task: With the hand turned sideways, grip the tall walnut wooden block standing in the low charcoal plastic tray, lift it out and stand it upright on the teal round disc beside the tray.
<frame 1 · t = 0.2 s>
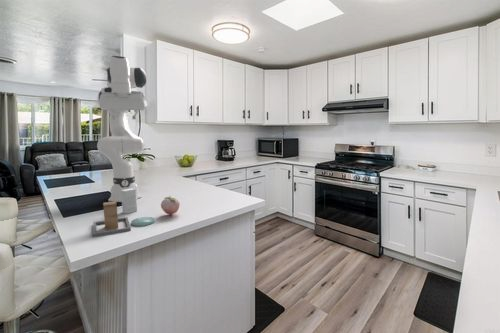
hand: (123, 119, 131), 48 cm above the table, tool pointing down, fingers open, 8 cm apart
teal round disc: (143, 222, 123), on the table
decorative fruit: (171, 215, 134), on the table
skincare box: (129, 212, 139), on the table
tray: (111, 227, 116), on the table
walnut block: (110, 215, 116), in the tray
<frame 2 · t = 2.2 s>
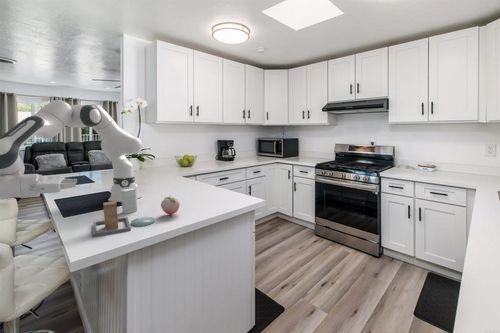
hand: (76, 182, 108), 21 cm above the table, tool horizontal, fingers open, 8 cm apart
nothing on the table moved.
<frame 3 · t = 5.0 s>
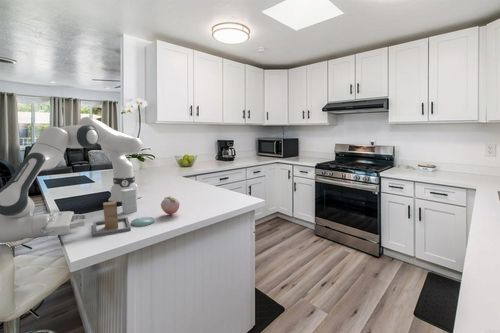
hand: (85, 219, 111), 5 cm above the table, tool horizontal, fingers open, 8 cm apart
nothing on the table moved.
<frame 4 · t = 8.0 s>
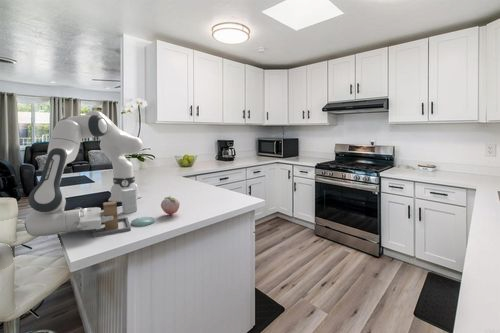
hand: (113, 215, 116), 6 cm above the table, tool horizontal, fingers closed on walnut block, 5 cm apart
walnut block: (110, 215, 116), in the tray, touching gripper
everything else where it was.
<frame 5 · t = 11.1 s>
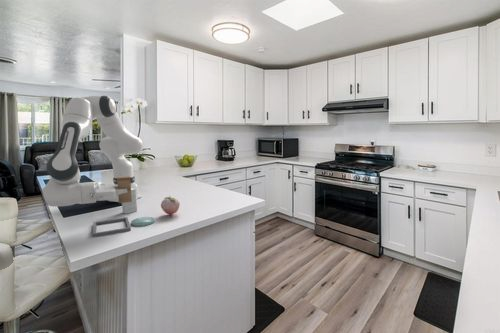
hand: (126, 188, 118), 17 cm above the table, tool horizontal, fingers closed on walnut block, 5 cm apart
walnut block: (124, 189, 117), point 17 cm above the table, touching gripper
everything else where it was.
when the fingers open (8 cm above the table, at t = 14.3 s): walnut block drops 1 cm, resting on teal round disc.
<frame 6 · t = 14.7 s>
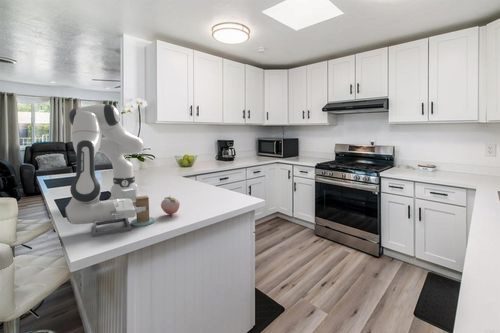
hand: (144, 205, 122), 8 cm above the table, tool horizontal, fingers open, 8 cm apart
walnut block: (142, 208, 122), on the teal round disc, point 6 cm above the table
everything else where it was.
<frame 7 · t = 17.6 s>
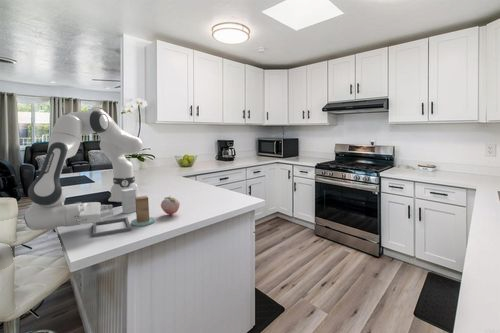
hand: (112, 209, 116), 8 cm above the table, tool horizontal, fingers open, 8 cm apart
nothing on the table moved.
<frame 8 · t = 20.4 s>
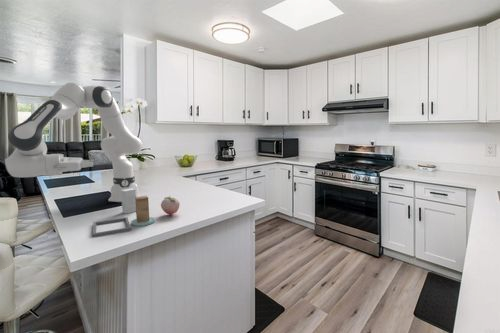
hand: (93, 163, 119), 28 cm above the table, tool horizontal, fingers open, 8 cm apart
nothing on the table moved.
at the end: walnut block 0.0 cm off-centre on the teal round disc, point 6.5 cm above the teal round disc's base; walnut block tilted 0°; the gripper is holding nothing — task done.
